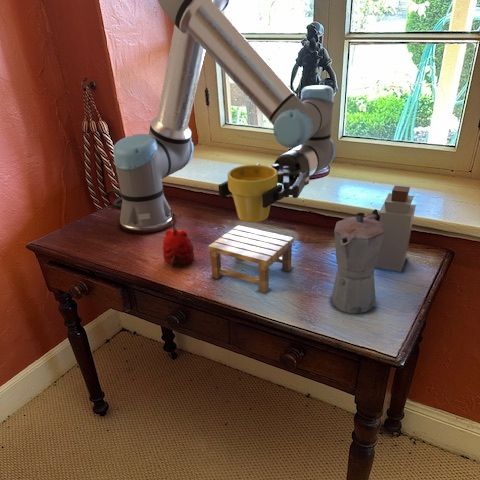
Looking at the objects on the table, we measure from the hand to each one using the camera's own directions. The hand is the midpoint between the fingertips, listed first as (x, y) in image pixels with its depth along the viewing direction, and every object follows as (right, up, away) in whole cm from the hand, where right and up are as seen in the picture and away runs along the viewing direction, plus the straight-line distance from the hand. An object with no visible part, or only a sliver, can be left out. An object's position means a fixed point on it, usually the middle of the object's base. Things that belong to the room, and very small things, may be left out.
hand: (241, 196), depth 94 cm
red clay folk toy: (-15, -12, +19) cm, 27 cm away
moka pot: (+23, -22, +2) cm, 32 cm away
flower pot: (+3, -3, +6) cm, 7 cm away
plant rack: (+3, -14, +14) cm, 20 cm away
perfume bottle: (+35, -12, +15) cm, 40 cm away
